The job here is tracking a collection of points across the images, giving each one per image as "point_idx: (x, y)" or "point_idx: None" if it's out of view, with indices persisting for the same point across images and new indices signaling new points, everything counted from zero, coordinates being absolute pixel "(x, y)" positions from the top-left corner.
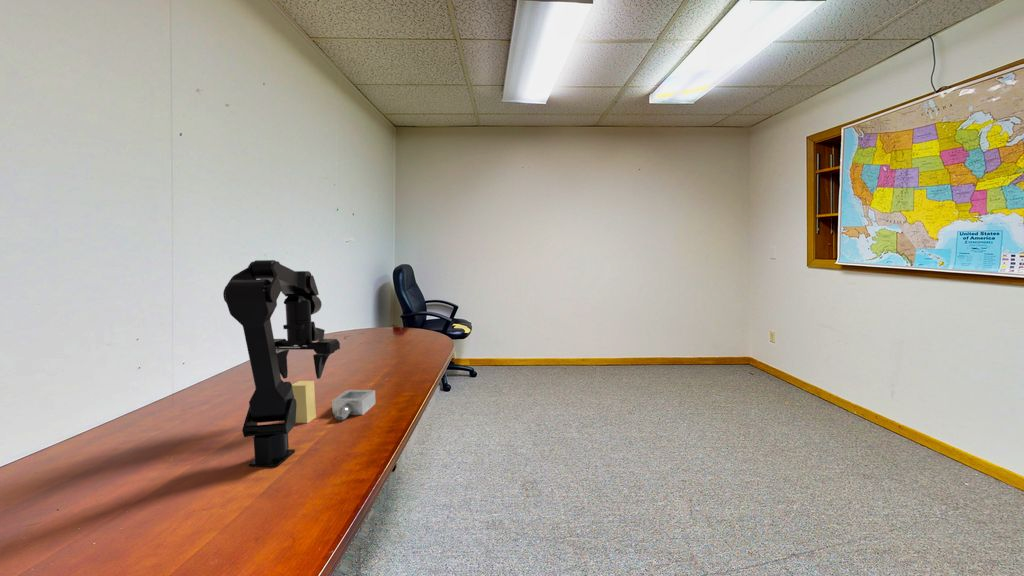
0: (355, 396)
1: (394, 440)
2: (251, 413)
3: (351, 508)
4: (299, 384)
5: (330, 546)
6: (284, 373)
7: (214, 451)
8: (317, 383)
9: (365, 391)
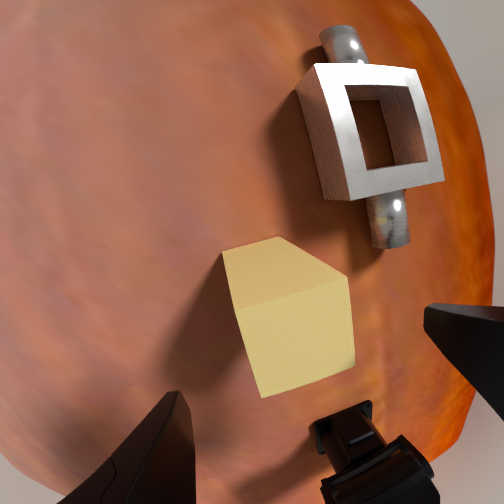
0: (356, 91)
1: (491, 280)
2: None
3: (468, 408)
4: (304, 367)
5: (460, 433)
6: (188, 440)
7: (195, 451)
8: (44, 6)
9: (398, 81)
